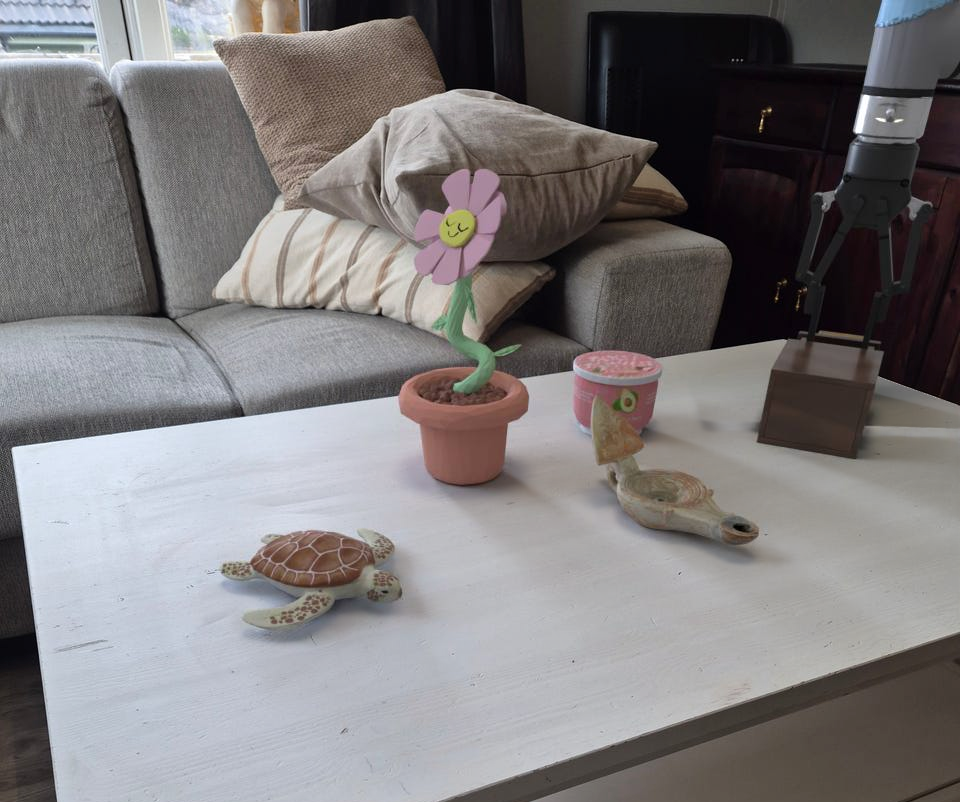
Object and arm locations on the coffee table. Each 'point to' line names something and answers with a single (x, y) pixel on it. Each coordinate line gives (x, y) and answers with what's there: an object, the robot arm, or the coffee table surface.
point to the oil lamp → (659, 486)
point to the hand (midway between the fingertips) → (837, 343)
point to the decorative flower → (463, 342)
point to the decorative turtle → (317, 573)
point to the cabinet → (819, 397)
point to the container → (616, 386)
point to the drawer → (840, 339)
